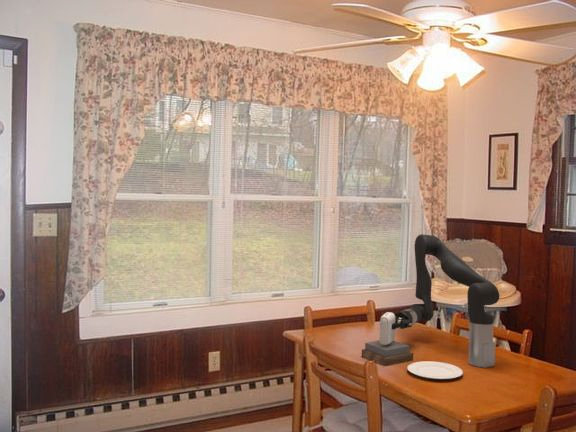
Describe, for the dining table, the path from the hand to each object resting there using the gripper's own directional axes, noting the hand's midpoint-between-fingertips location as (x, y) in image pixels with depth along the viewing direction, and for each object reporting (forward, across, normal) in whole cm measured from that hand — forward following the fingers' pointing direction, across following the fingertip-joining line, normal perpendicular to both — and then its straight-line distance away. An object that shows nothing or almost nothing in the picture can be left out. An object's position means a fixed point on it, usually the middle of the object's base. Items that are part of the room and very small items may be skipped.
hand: (386, 325), depth 232 cm
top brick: (0, 0, +11) cm, 11 cm away
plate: (+5, +24, +14) cm, 28 cm away
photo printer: (-1, 0, +7) cm, 7 cm away
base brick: (0, 0, +14) cm, 14 cm away
